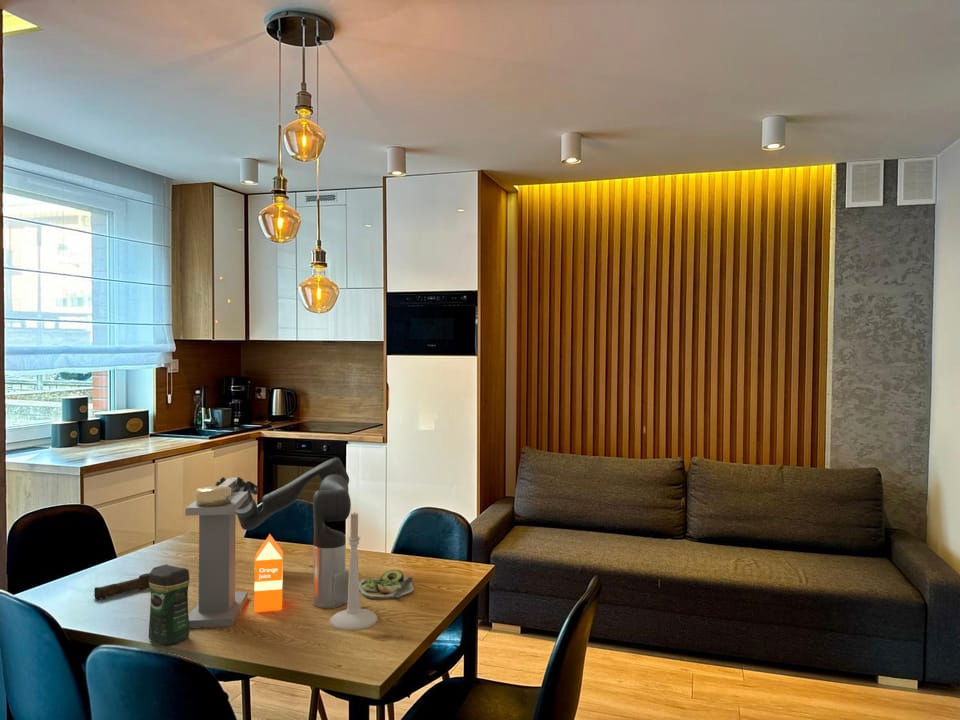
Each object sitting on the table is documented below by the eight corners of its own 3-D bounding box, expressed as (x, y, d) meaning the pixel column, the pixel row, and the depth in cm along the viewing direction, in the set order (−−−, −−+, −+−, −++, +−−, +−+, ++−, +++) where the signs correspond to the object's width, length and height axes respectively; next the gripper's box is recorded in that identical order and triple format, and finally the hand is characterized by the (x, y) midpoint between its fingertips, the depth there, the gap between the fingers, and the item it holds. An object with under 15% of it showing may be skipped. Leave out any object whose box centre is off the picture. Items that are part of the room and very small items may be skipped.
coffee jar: (195, 637, 176) (195, 565, 176) (167, 648, 169) (168, 573, 169) (170, 630, 181) (170, 559, 181) (142, 640, 174) (143, 567, 174)
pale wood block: (218, 486, 213) (218, 473, 213) (248, 486, 215) (248, 473, 215) (191, 507, 183) (192, 492, 183) (227, 506, 184) (227, 491, 184)
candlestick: (326, 615, 192) (327, 508, 192) (371, 610, 196) (372, 505, 197) (333, 632, 180) (334, 518, 180) (381, 626, 184) (382, 515, 185)
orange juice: (253, 612, 194) (254, 541, 194) (255, 601, 203) (255, 534, 203) (282, 609, 196) (283, 540, 196) (282, 599, 205) (283, 532, 205)
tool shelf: (205, 599, 204) (206, 492, 204) (247, 598, 206) (248, 491, 206) (184, 628, 182) (185, 508, 182) (231, 626, 184) (232, 506, 184)
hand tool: (97, 602, 202) (98, 586, 202) (93, 599, 205) (93, 583, 205) (163, 587, 216) (163, 572, 216) (158, 584, 219) (158, 570, 219)
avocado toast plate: (423, 600, 206) (423, 584, 206) (363, 605, 201) (363, 590, 201) (410, 580, 225) (410, 566, 225) (355, 585, 219) (355, 570, 219)
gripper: (261, 509, 223) (253, 491, 208) (216, 510, 221) (204, 492, 206) (263, 487, 227) (255, 468, 212) (218, 488, 225) (207, 468, 210)
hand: (230, 480), depth 209 cm, fingers open, 4 cm apart
